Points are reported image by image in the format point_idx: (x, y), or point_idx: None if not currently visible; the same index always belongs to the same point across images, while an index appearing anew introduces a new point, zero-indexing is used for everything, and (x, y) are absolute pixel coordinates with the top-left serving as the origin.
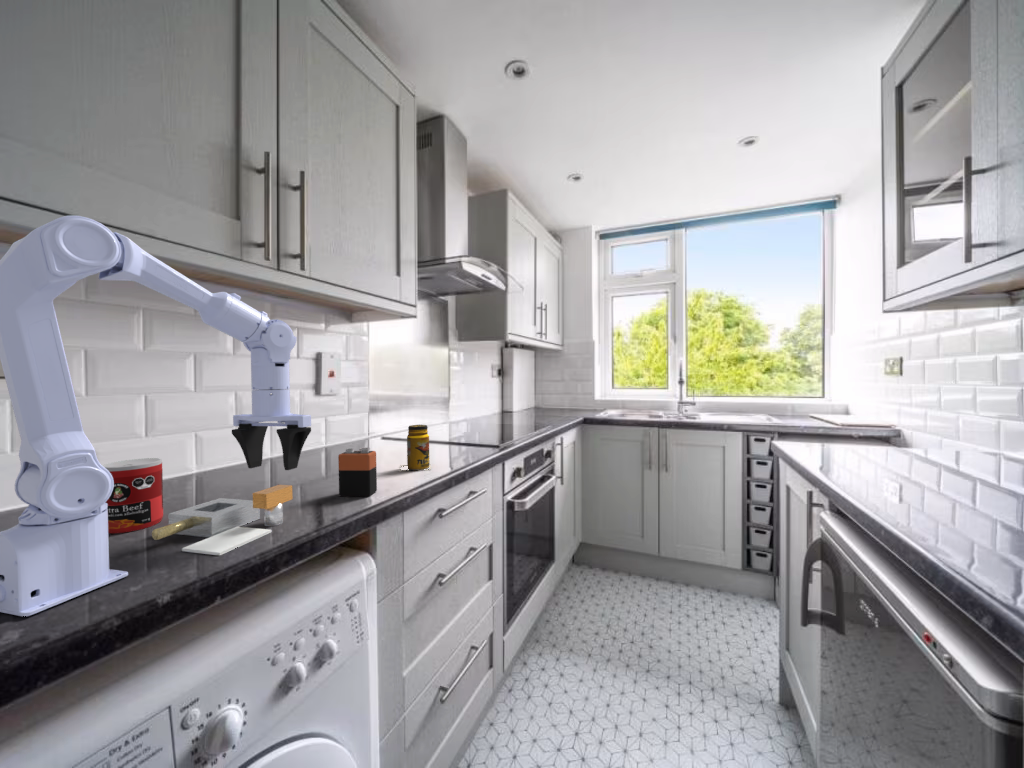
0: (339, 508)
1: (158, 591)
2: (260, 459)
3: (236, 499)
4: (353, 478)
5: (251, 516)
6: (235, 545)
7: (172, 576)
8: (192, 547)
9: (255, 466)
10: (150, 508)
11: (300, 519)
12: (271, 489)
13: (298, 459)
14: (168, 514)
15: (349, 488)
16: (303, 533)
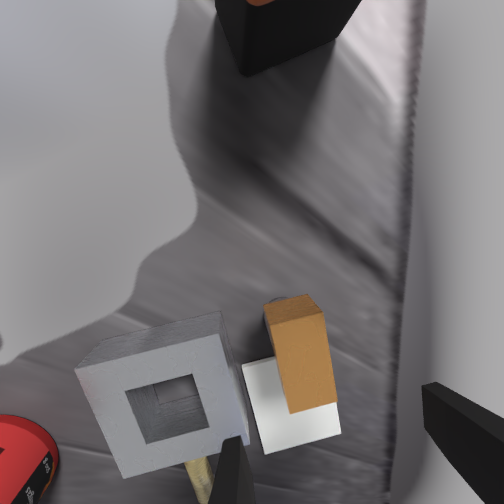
0: (335, 171)
1: (371, 497)
2: (240, 472)
3: (138, 354)
4: (312, 10)
5: (225, 337)
6: (335, 410)
7: (345, 479)
8: (276, 445)
9: (248, 464)
10: (23, 486)
11: (312, 271)
12: (305, 370)
13: (482, 410)
14: (125, 477)
15: (285, 48)
16: (386, 318)
